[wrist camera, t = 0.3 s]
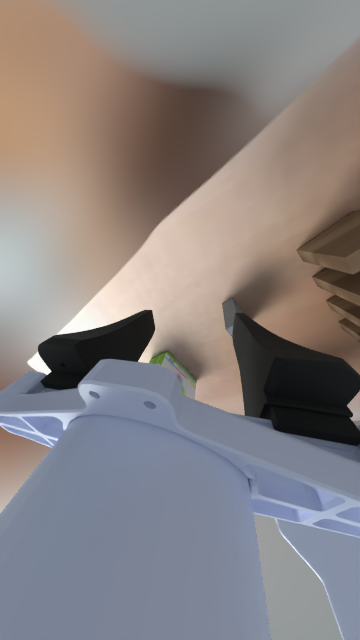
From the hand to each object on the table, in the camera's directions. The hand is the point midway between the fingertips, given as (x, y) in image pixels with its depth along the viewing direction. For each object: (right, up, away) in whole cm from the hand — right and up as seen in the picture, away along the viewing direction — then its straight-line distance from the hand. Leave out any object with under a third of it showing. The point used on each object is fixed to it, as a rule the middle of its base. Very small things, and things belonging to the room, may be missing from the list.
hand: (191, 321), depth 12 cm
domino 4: (+15, +9, +3) cm, 18 cm away
